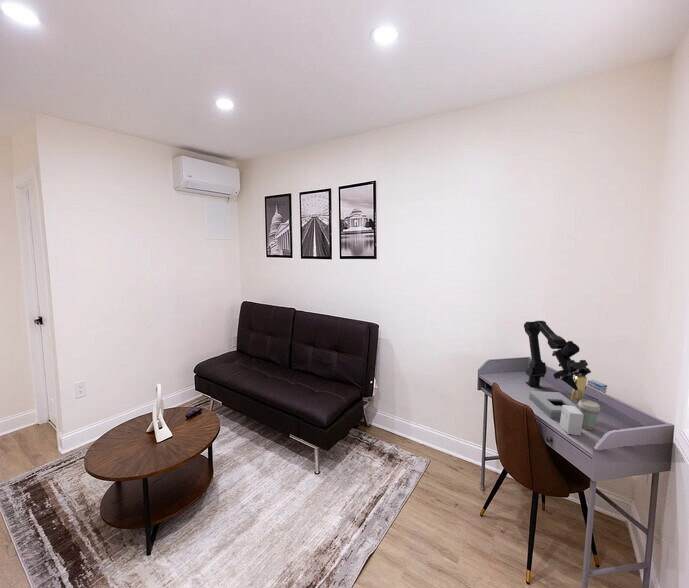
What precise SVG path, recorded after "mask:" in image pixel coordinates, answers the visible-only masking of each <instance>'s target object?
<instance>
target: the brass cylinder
mask: <svg viewBox="0 0 689 588" xmlns="http://www.w3.org/2000/svg"><path fill="white" fill-rule="evenodd" d="M573 380H574V382H575V384H576V386H577V389H578V390H575V389H573V388H572V387H571V388H572V389H571V395H570V401H572V402H573V403H577V404H578V402H579V401H580V400H582V399H584V395H585V392H586V389H585V386H586V387H587V382H588V377H586V376H583V375H574V376H573Z"/></svg>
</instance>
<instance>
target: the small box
mask: <svg viewBox="0 0 689 588" xmlns="http://www.w3.org/2000/svg"><path fill="white" fill-rule="evenodd" d="M561 406H562V411H561V419H559V427H560V428H561V429H564V430H565V431H566V432H567V433H566V432H565V431H564V430H563V431H564V432H565V433H566V435H569V434H572V435H571V436H577V435H579V436H581V435H582V434H581V433H582V429H583V428H582V423H583V417H584V414H582V413H581V412H580V411H579V410H578V409H577V408H576V407H575V406H568V405H562V404H561Z"/></svg>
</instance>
